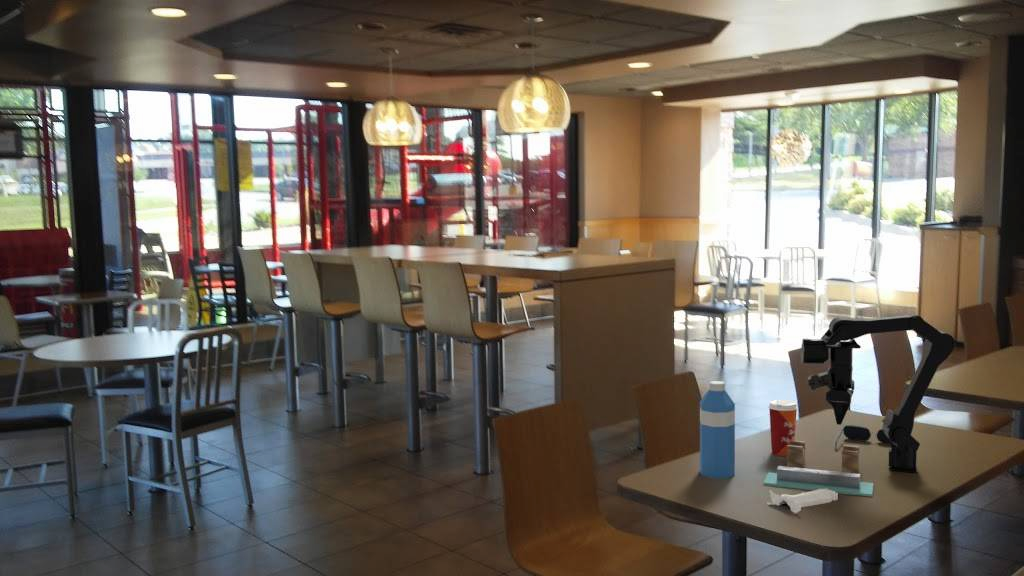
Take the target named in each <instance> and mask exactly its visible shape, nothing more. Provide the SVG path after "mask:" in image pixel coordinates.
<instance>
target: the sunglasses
mask: <svg viewBox="0 0 1024 576" xmlns="http://www.w3.org/2000/svg"><path fill="white" fill-rule="evenodd" d="M842 434H843V435H844V437H846V439H848V440H854V441H855V440H856V441H862V442H863V441H869V440H870V439H871V438H872V433H871V431H870V429H869V428H868V427H866V426H861V425H854V424H853V425H852V424H851V425H849V424H848V425H844V426H843V427H842V429H841V432H840V433H839V435H838V436H837V439H836V441H835V446H834V450H835V451H837V444H838V441H839V439H841V438H840V437H841V436H842ZM875 438H876V440H877V441H879V442H880V443H882V444H888V445H889V444H890V445H891V444H893V442H891V440H890V439H889V438H888V437H887V435H886V434H885V433H884V431H883V428H881V429H879V430H878V431H877V433H876V436H875Z"/></svg>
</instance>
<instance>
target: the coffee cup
mask: <svg viewBox="0 0 1024 576" xmlns="http://www.w3.org/2000/svg"><path fill="white" fill-rule="evenodd" d="M767 408H768V409H769V422H770V423H769V425H770V426H769V427H770V428H769V429H770V444H771V446H770V447H771V453H772V455H774V456H777V457H787V445H789V441H790V440H792V441H796V440H795V438H796V428H797V427H796V423H797V412H798V411H797V410H798V409H799V407H798V406H797V403H796V402H795V401H792V400H788V399H774V400H771V401H769V405H767Z"/></svg>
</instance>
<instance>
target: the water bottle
mask: <svg viewBox="0 0 1024 576" xmlns="http://www.w3.org/2000/svg"><path fill="white" fill-rule="evenodd" d="M708 384H709V389H708V390H707V391H706V393H705V394H704V395H703V396H702V398H701V399H700V400H699V472H700V474H701V476H702V477H707V478H710V479H729V478H731V476H732V477H734V476H736V475H735V473H736V470H735V469H736V468H735V466H736V464H735V463H736V462H735V460H736V459H735V458H736V457H735V456H736V453H735V452H736V451H735V449H736V446H735V442H736V441H735V440H736V439H735V438H736V437H735V436H736V435H735V434H736V433H735V432H736V431H735V430H736V426H735V425H736V421H735V419H736V416H735V415H736V413H735V411H736V404H735V402H734V401H733V399H732V398H731V397H730V395H729V394H728V392H727V391H726V382H725V381H721V380H712V381H709V383H708ZM733 475H734V476H733Z"/></svg>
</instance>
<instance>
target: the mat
mask: <svg viewBox="0 0 1024 576" xmlns="http://www.w3.org/2000/svg"><path fill="white" fill-rule="evenodd" d="M763 485H764V486H770V487H771V486H772V487H780V488H789V489H797V490H798V489H799V490H806V491H807V490H808V491H814V490H817V489H825V488H826V489H828V490H831V491H835V493H838V494H843V495H852V496H863V497H873V492H874V483H873V482H865V481H860V489H853V488H844V487H834V486H825V485H816V484H806V483H797V482H788V481H778V480H777V472H768V473H767V475H766V477H765V479H764V481H763Z"/></svg>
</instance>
